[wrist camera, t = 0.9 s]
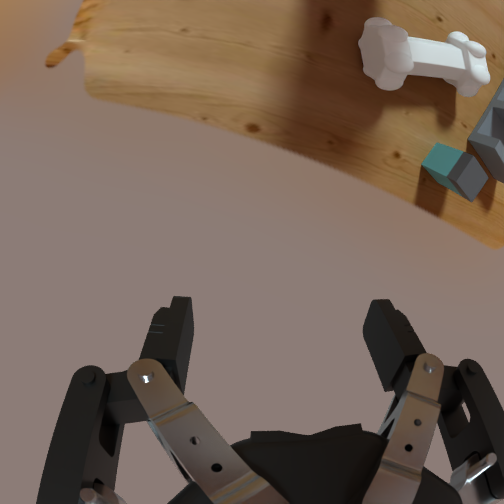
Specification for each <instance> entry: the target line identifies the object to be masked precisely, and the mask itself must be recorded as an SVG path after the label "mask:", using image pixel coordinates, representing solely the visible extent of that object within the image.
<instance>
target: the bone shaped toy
mask: <svg viewBox="0 0 504 504" xmlns="http://www.w3.org/2000/svg"><path fill="white" fill-rule="evenodd" d="M358 45H359V48H360V50H361V55H362V60H363V65H364V67H363V72H364V73H365V74H366V75H367V76H369V77H371V78H372V79H374V80H375V84H376V85H377V86H378V87H379V88H380V89H383V90H388V91H391V90H397V89H399V88H400V87H401V86H402V85H403V82H404V80H405V78H406V77H407V75H418V76H428V77H437V78H443V79H444V80H445V81H446V82H447V83H449V84H452V85H454V86H455V87H456V88H457V91H458V93H459V94H460V95H462V96H465V97H472V96H474V95H476V94H477V92H478V89H479V88H480V87H481V86H482V85H486V84H488V83H489V81H490V74H489V72H488V69H487V63H486V58H485V55H486V50H485V48H484V47H483V46H482V45H481V44H479V43H477V42H474V41H469V39H468V37H467V36H466V35H465V34H463V33H461V32H451V33H450V34H449V35H448V37H447V40H446V41H445V43H443V42H438V41H432V40H427V39H421V38H414V37H408V33H407V32H406V31H405V30H404V29H403V28H401V27H398V26H395V25H392V24H391V22H390V21H388V20H387V19H385V18H381V17H373V18H369V19H368V20H366V22H365V23H364V31H363V34H362V37H361V38H360V39H359V41H358Z"/></svg>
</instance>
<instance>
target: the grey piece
mask: <svg viewBox="0 0 504 504" xmlns="http://www.w3.org/2000/svg"><path fill="white" fill-rule="evenodd" d="M468 140H469V142H470V143H471V145H472V146H473V147H474V149H475V150H476V152H477V153H478V155H479V156H480V158H481V159H482V161H483V162H484V164H485V165H486V167H487V168H488V170H489V171H490V173H491V174H492V176H493V178H494V179H496V180H498V181H500V182H502V183H504V79H503V81H502V83H501V85H500V86H499V88H498V90H497V92H496V93H495V95H494V97H493V99H492V100H491V102H490V104H489V106H488V107H487V109H486V111H485V112H484V114H483V116H482V117H481V119H480V120H479V122H478V124H477V125H476V127H475V128H474V130H473V132H472V133H471V135H470V136H469V138H468Z"/></svg>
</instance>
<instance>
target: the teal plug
mask: <svg viewBox="0 0 504 504" xmlns="http://www.w3.org/2000/svg"><path fill="white" fill-rule="evenodd" d="M421 165H422V166H423V167H424V168H425V169H426V170H427V171H428V172H429V173H430V175H431V176H432V177H433V178H434V179H435V180H436V181H437V182H438V183H439V184H441V185H443V186H445V187H447V188H448V189H450V190H452V191H453V192H455V193H457V194H459V195H460V196H462V197H464V198H465V199H467V200H469V201H470V202H473V200H474V199H475V197H476V196H477V194H478V193H479V191H480V190H481V189H482V187H483V186H484V184H485V183H486V181H487V179H488V176H487V174H486V173H485V171H484V170H483V168H482V167H481V165H480V164H479V162H478V161H477V160H476V158H475V157H474V156H473V155H471V154H468V153H466V152H463V151H460V150H457V149H455V148H452V147H449V146H446V145H443V144H440V143H436V144H435V146H434V147H433V149H432V150H431V151H430V153H429V154H428V156H427V157H426V158H425V160H424V161H423V162H422V164H421Z"/></svg>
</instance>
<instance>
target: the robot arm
mask: <svg viewBox="0 0 504 504" xmlns="http://www.w3.org/2000/svg"><path fill="white" fill-rule="evenodd" d="M193 336H194V321H193V311H192V300H191V297H181V296H174V297H173V299H172V302H171V306H170V308H167V307H166V308H165V307H162V308H160V309H159V310H158V311H157V312H156V313H155V314H154V316H153V319H152V322H151V325H150V328H149V332H148V334H147V337H146V340H145V342H144V346H143V349H142V352H141V355H140V358H139V360H138V361H135V362H134V363H133V364H131V365H130V367H129V368H128V370H126V371H123V372H117V373H110V374H105V373H104V371H103V370H102V369H101V368H99V367H97V366H92V365H91V366H90V365H89V366H84V367H82V368H80V369H79V370H77V371H76V372H75V373H74V375H73V377H72V380H71V383H70V385H69V388H68V391H67V393H66V396H65V399H64V402H63V405H62V408H61V411H60V414H59V417H58V420H57V423H56V427H55V430H54V433H53V437H52V440H51V443H50V447H49V451H48V454H47V458H46V462H45V466H44V470H43V474H42V478H41V483H40V488H39V492H38V497H37V502H36V504H127V503H126V502H125V500H124V499H123V498H121V497H120V496H119V495H118V494H116V493H115V492H114V489H115V481H116V474H117V467H118V460H119V454H120V447H121V442H122V436H123V430H124V425H125V423H133V422H140V421H147V423H148V424H149V426H150V428H151V429H152V431H153V432H154V434H155V436H156V437H157V439H158V440H159V442H160V443H161V445H162V447H163V448H164V450H165V451H166V453H167V454H168V456H169V458H170V459H171V461H172V462H173V464H174V465H175V467H176V468H177V470H178V471H179V473H180V474H181V475H182V477H183V478H184V479H185V481H186V482H187V483H188V485H187V486H186V487H185V488H184V489H183V490H182V491H181V492H180V493H178V494H177V495H176V496H175V497H174V498H173V499H172V500H171V501H170V502H168V503H167V504H496V503H498V502H499V501H501V500H503V499H504V411H503V409H502V407H501V404H500V402H499V400H498V398H497V396H496V394H495V392H494V390H493V388H492V386H491V384H490V382H489V380H488V378H487V377H486V375H485V373H484V371H483V369H482V367H481V366H480V365H479V364H478V363H477V362H476V361H474V360H471V359H464V360H462V361H461V362H460V364H459V365H458V367H452V366H444V365H443V363H442V361H441V360H440V359H439V358H438V357H436V356H435V355H433V354H429V353H426V351H425V349H424V347H423V345H422V343H421V342H420V340H419V338H418V336H417V335H416V333H415V332H414V329H413V328H412V326H411V325H410V323H409V321H408V319H407V317H406V316H405V315H404V314H403V313H401V312H400V311H399V310H395V308H394V306H393V305H392V303H391V301H390V300H389V299H380V300H379V299H378V300H373V301H372V302H371V304H370V308H369V310H368V313H367V317H366V319H365V322H364V325H363V337H364V340H365V342H366V345H367V347H368V350H369V352H370V354H371V357H372V360H373V362H374V365H375V367H376V370H377V372H378V375H379V378H380V380H381V383H382V386H383V388H384V391H385V392H387V391H393V390H394V392H395V395H394V397H393V399H392V401H391V404H390V406H389V408H388V411H387V413H386V416H385V418H384V420H383V422H382V424H381V426H380V429H379V430H378V432H377V434H376V433H373V432H369V431H363V430H362V427H361V424H352V425H345V426H337V427H333V428H331V429H328V430H325V431H322V432H319V433H315V434H313V435H302V434H295V433H290V432H284V431H251V437H250V438H249V439H245V440H242V441H239V442H236V443H234V444H232V445H230V446H229V444H228V443H227V442H226V441H225V440H224V439H223V438H222V436H221V435H220V434H219V433H218V431H217V430H216V429H215V428H214V427H213V425H212V424H211V423H210V422H209V421H208V419H207V418H206V417H205V416H204V414H203V413H202V412H201V411H200V409H199V408H198V407H197V406H196V405H195V404H194V403H193V402H188V401H187V400H186V398H185V397H184V391H185V384H186V378H187V372H188V366H189V360H190V353H191V348H192V342H193ZM464 402H465V403H466V406H467V408H468V410H469V413H470V422H468V420H467V417H466V415H465V412H464V410H463V407H462V404H463V403H464ZM437 423H438V426H439V429H440V432H441V435H442V438H443V441H444V444H445V447H446V451H447V454H448V457H449V461H450V464H451V467H452V471H453V473H452V475H451V479H450V483H449V484H448V483H447V482H445V481H444V480H442V479H441V478H439V477H438V476H436V475H435V474H434V473H432V472H431V471H429V470H428V469H427V468H425V467H424V463H425V460H426V457H427V454H428V451H429V448H430V445H431V441H432V438H433V435H434V431H435V428H436V424H437Z"/></svg>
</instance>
